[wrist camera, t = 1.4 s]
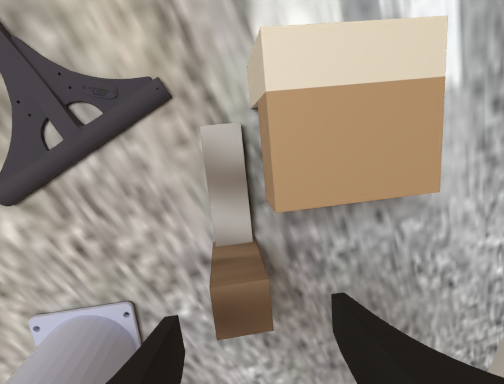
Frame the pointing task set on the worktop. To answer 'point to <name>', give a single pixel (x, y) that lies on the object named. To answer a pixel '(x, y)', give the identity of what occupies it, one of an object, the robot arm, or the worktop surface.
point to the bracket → (61, 114)
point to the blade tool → (233, 239)
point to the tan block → (349, 110)
